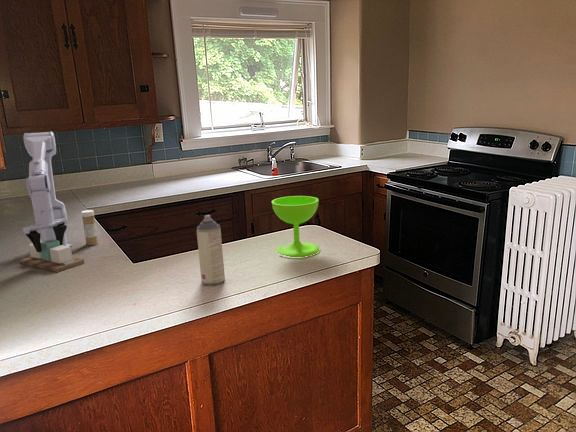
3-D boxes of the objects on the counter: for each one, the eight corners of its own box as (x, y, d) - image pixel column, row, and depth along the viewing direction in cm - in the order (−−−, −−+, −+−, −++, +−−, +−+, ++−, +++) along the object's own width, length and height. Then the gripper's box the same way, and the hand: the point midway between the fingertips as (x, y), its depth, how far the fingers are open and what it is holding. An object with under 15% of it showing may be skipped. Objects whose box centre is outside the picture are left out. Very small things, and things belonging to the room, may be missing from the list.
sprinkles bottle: (88, 242, 185) (83, 210, 182) (100, 242, 185) (95, 209, 182) (84, 246, 180) (79, 212, 177) (96, 245, 181) (91, 211, 178)
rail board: (20, 262, 164) (20, 259, 163) (47, 254, 172) (47, 251, 172) (57, 272, 152) (56, 268, 152) (84, 262, 160) (84, 259, 160)
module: (41, 258, 161) (38, 242, 160) (53, 255, 165) (51, 238, 163) (49, 260, 158) (46, 244, 157) (62, 257, 162) (59, 240, 161)
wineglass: (265, 251, 163) (262, 201, 159) (299, 241, 173) (297, 194, 169) (294, 261, 151) (292, 207, 147) (329, 250, 161) (328, 199, 157)
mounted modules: (31, 256, 164) (28, 244, 163) (43, 252, 168) (41, 241, 167) (60, 263, 155) (58, 250, 154) (72, 259, 159) (70, 246, 158)
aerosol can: (214, 275, 142) (209, 211, 137) (229, 280, 138) (224, 214, 133) (196, 282, 137) (190, 216, 133) (211, 287, 133) (205, 219, 128)
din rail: (29, 257, 166) (29, 255, 166) (39, 254, 169) (39, 252, 169) (65, 265, 155) (64, 263, 155) (74, 262, 158) (74, 260, 158)
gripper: (28, 216, 150) (35, 256, 153) (69, 206, 161) (75, 244, 165) (16, 214, 153) (24, 253, 156) (57, 205, 165) (63, 241, 168)
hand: (49, 248), depth 161 cm, fingers open, 7 cm apart
